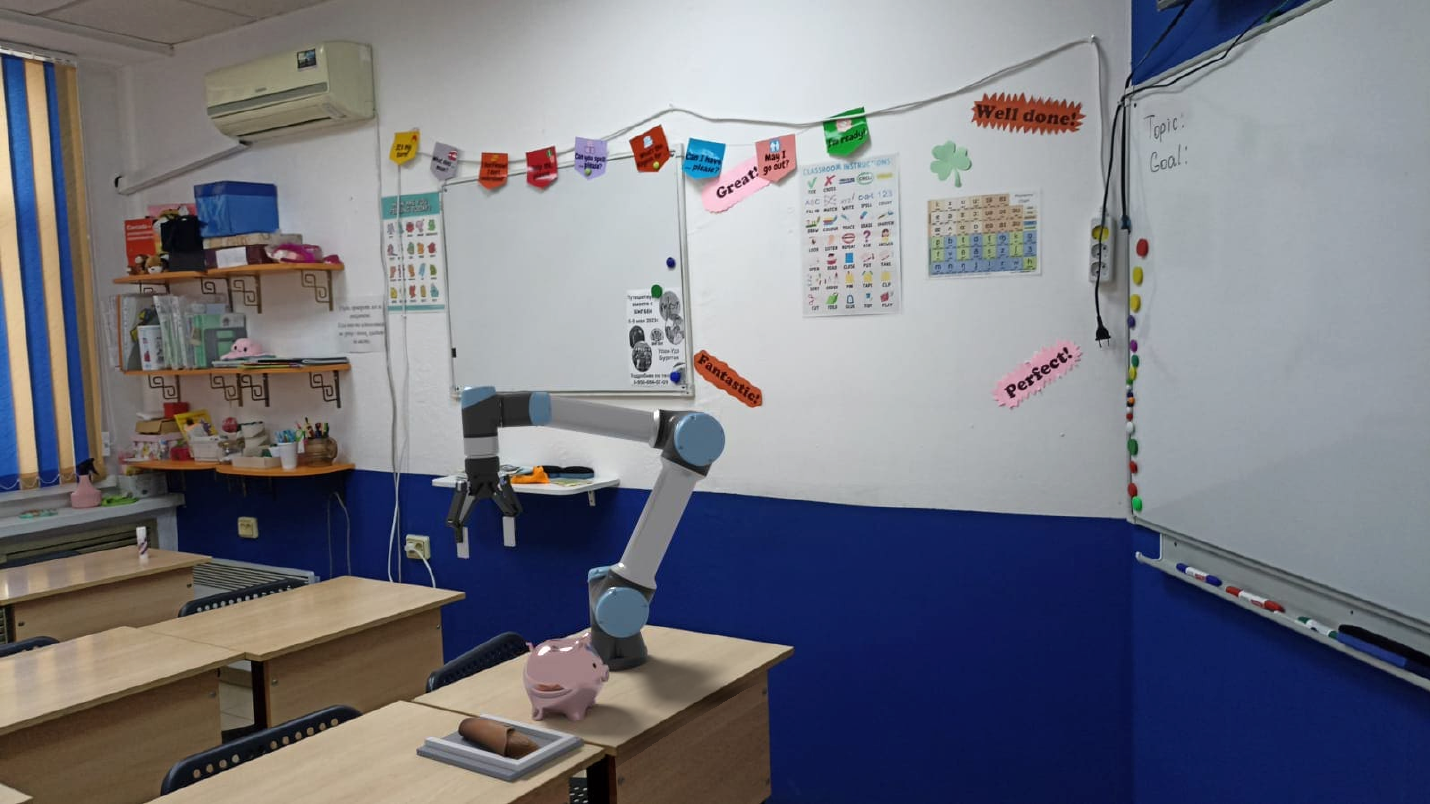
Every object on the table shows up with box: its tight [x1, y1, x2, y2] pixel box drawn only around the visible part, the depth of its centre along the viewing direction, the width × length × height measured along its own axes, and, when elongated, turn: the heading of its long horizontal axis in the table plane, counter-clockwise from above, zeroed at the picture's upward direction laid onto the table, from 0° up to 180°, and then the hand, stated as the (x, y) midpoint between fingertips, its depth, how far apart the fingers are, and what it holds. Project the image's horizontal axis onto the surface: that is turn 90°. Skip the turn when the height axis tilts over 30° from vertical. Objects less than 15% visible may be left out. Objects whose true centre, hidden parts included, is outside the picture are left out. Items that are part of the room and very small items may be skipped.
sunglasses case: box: [457, 717, 541, 760], centre depth 185 cm, size 18×7×7 cm, turn 42°
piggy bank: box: [522, 631, 610, 722], centre depth 204 cm, size 15×18×16 cm
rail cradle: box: [416, 713, 584, 782], centre depth 186 cm, size 19×25×2 cm
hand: (487, 551), depth 217 cm, fingers open, 13 cm apart
